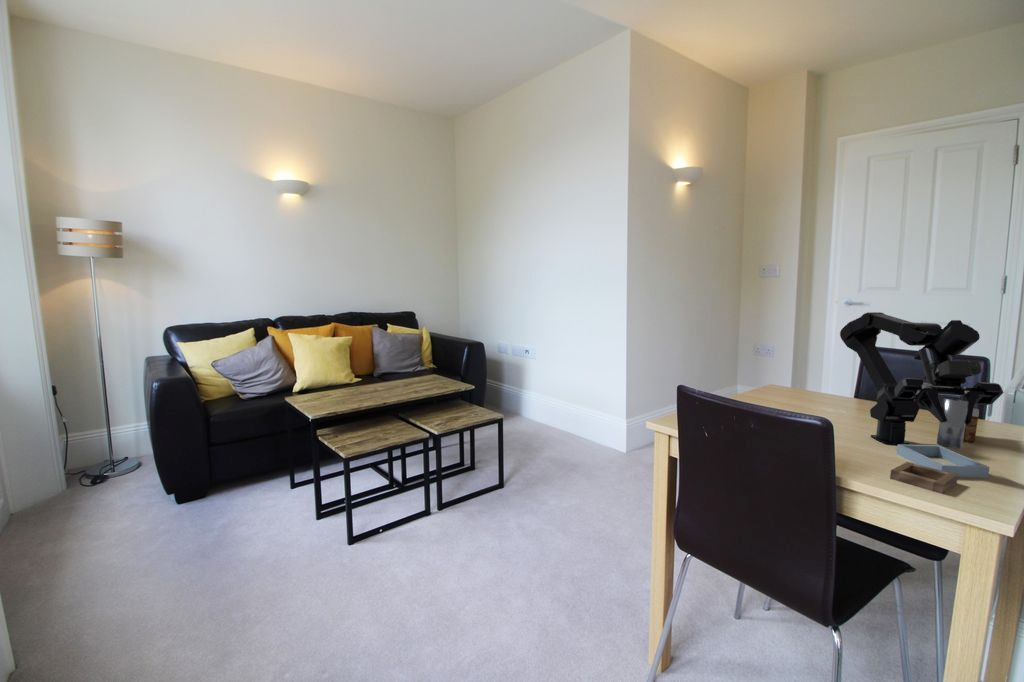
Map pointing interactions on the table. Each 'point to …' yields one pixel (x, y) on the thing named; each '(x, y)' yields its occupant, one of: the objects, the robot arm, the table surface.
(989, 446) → the table surface
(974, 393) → the robot arm
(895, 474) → the socket block
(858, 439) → the table surface
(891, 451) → the table surface
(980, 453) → the table surface
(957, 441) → the metallic grey cylinder
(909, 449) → the tray
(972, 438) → the food container
